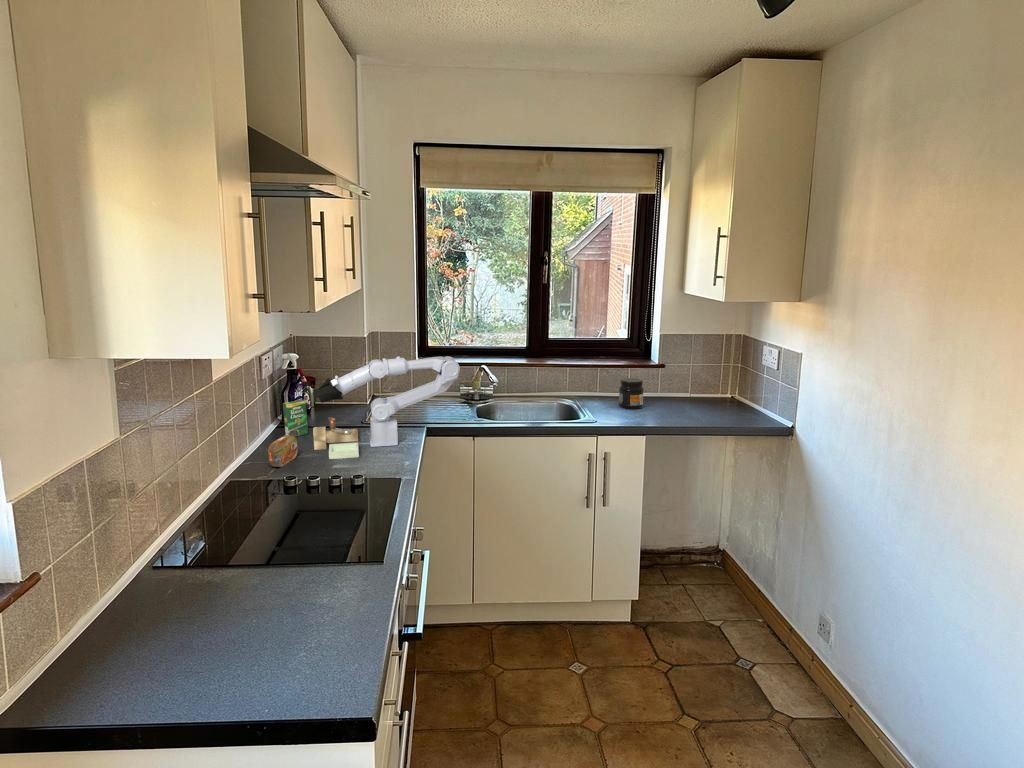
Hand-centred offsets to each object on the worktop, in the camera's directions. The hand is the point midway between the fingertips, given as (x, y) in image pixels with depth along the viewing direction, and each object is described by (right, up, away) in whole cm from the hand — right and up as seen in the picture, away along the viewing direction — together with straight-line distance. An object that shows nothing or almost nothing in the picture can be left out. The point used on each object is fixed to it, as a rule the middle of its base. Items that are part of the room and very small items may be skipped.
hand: (317, 397), depth 234 cm
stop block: (0, -17, +4) cm, 18 cm away
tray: (+10, -19, -3) cm, 22 cm away
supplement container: (+119, -5, +62) cm, 134 cm away
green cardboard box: (-13, -15, +18) cm, 26 cm away
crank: (+3, -13, +17) cm, 22 cm away
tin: (-7, -21, -12) cm, 25 cm away
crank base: (+4, -15, +15) cm, 22 cm away
